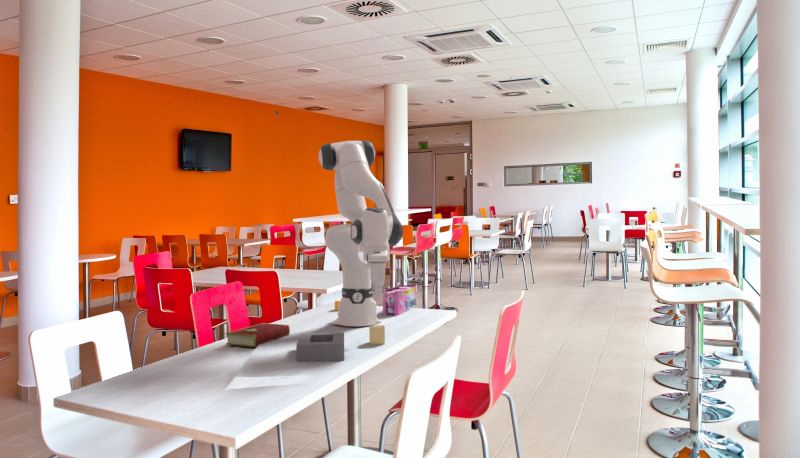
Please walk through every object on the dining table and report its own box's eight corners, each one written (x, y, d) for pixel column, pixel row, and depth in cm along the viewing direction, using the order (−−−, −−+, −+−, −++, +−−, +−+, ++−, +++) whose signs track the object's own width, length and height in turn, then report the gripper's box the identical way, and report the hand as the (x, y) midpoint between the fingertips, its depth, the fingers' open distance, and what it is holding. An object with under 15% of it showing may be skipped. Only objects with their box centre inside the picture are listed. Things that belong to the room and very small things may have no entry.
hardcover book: (289, 335, 215) (289, 324, 215) (255, 347, 196) (254, 334, 196) (262, 333, 220) (262, 322, 220) (226, 344, 200) (225, 332, 200)
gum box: (397, 322, 240) (397, 291, 240) (380, 321, 243) (380, 290, 243) (416, 313, 261) (416, 285, 261) (401, 313, 264) (401, 284, 264)
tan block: (369, 343, 199) (369, 325, 199) (384, 342, 199) (383, 325, 199) (369, 345, 195) (369, 327, 195) (384, 345, 195) (384, 327, 195)
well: (301, 348, 191) (301, 333, 191) (344, 347, 192) (344, 332, 192) (296, 361, 173) (296, 344, 173) (344, 360, 174) (343, 343, 174)
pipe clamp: (338, 311, 270) (338, 297, 270) (347, 311, 269) (347, 297, 269) (331, 315, 258) (330, 301, 258) (340, 315, 257) (340, 301, 257)
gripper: (366, 254, 207) (366, 293, 207) (368, 257, 186) (368, 300, 186) (383, 254, 207) (384, 293, 207) (387, 256, 187) (388, 299, 187)
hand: (377, 296), depth 197 cm, fingers open, 8 cm apart
